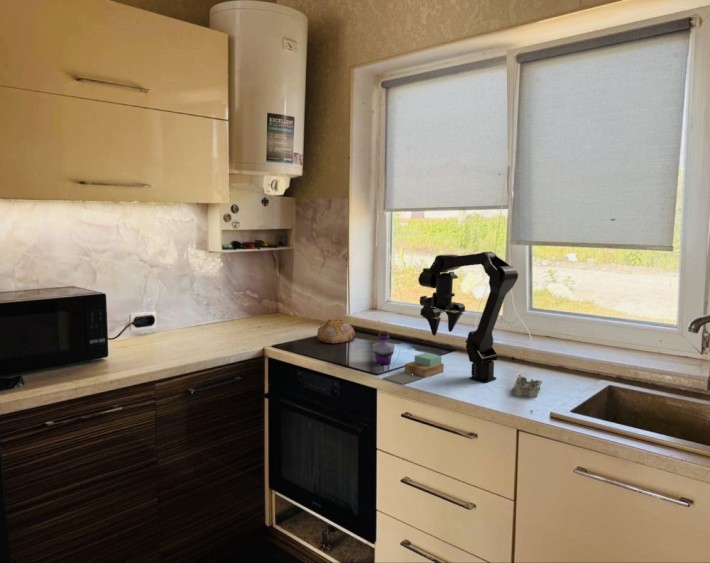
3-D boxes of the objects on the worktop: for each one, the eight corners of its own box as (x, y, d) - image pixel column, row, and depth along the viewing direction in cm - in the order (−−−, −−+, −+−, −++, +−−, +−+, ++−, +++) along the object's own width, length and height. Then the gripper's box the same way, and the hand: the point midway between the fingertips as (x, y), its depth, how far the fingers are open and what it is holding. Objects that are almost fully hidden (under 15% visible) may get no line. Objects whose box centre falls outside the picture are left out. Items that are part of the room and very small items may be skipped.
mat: (423, 378, 182) (423, 377, 182) (403, 384, 176) (403, 383, 176) (402, 372, 189) (402, 371, 189) (382, 378, 182) (382, 377, 182)
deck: (443, 372, 190) (443, 363, 190) (424, 378, 183) (425, 369, 183) (423, 366, 196) (423, 358, 196) (404, 372, 190) (404, 363, 189)
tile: (441, 363, 190) (441, 356, 190) (430, 366, 186) (430, 359, 186) (425, 359, 195) (425, 352, 195) (414, 362, 191) (414, 355, 191)
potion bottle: (398, 362, 203) (398, 330, 202) (390, 367, 195) (390, 334, 194) (377, 359, 207) (377, 328, 205) (367, 365, 199) (368, 332, 198)
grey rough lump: (518, 386, 176) (518, 373, 175) (543, 389, 172) (543, 376, 172) (511, 395, 166) (511, 382, 166) (537, 399, 163) (537, 385, 162)
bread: (312, 346, 232) (311, 323, 230) (324, 336, 251) (322, 314, 250) (350, 346, 228) (349, 322, 227) (359, 335, 248) (357, 313, 246)
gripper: (442, 285, 205) (440, 325, 207) (409, 289, 192) (407, 333, 195) (466, 288, 197) (464, 331, 199) (434, 294, 184) (432, 339, 187)
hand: (442, 333), depth 195 cm, fingers open, 9 cm apart
